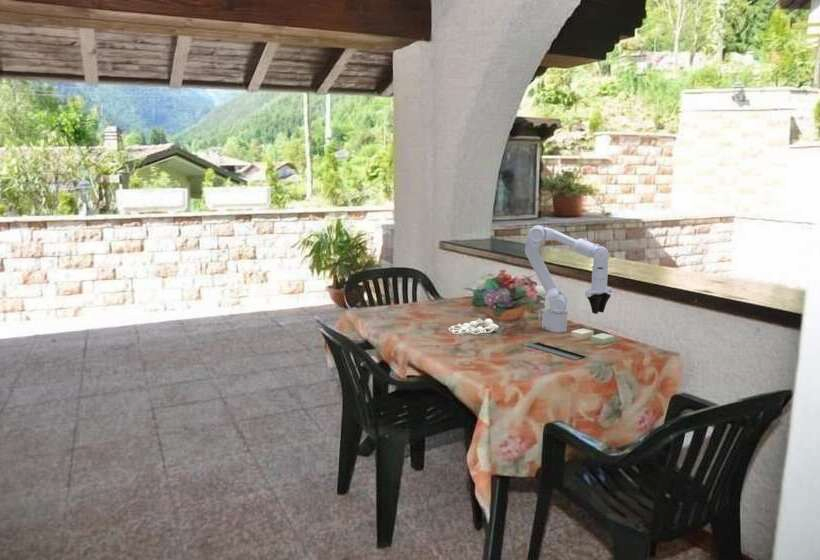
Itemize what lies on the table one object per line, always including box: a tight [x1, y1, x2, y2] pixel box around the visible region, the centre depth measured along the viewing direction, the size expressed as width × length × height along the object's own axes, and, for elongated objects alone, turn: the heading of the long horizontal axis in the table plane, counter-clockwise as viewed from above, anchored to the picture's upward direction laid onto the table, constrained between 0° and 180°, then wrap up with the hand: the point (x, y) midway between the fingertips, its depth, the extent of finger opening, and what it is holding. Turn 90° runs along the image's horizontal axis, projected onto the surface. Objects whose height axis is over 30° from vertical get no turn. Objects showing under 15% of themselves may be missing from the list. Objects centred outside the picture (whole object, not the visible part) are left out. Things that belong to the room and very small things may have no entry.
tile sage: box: [591, 332, 615, 344], centre depth 218 cm, size 5×7×2 cm
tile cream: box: [570, 327, 595, 339], centre depth 225 cm, size 5×7×2 cm
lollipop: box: [535, 285, 547, 320], centre depth 257 cm, size 6×6×15 cm
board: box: [556, 332, 624, 349], centre depth 222 cm, size 20×14×2 cm
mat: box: [526, 342, 588, 361], centre depth 213 cm, size 22×14×1 cm, turn 36°
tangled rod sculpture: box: [448, 318, 500, 336], centre depth 239 cm, size 19×14×4 cm
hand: (597, 312), depth 230 cm, fingers open, 3 cm apart
